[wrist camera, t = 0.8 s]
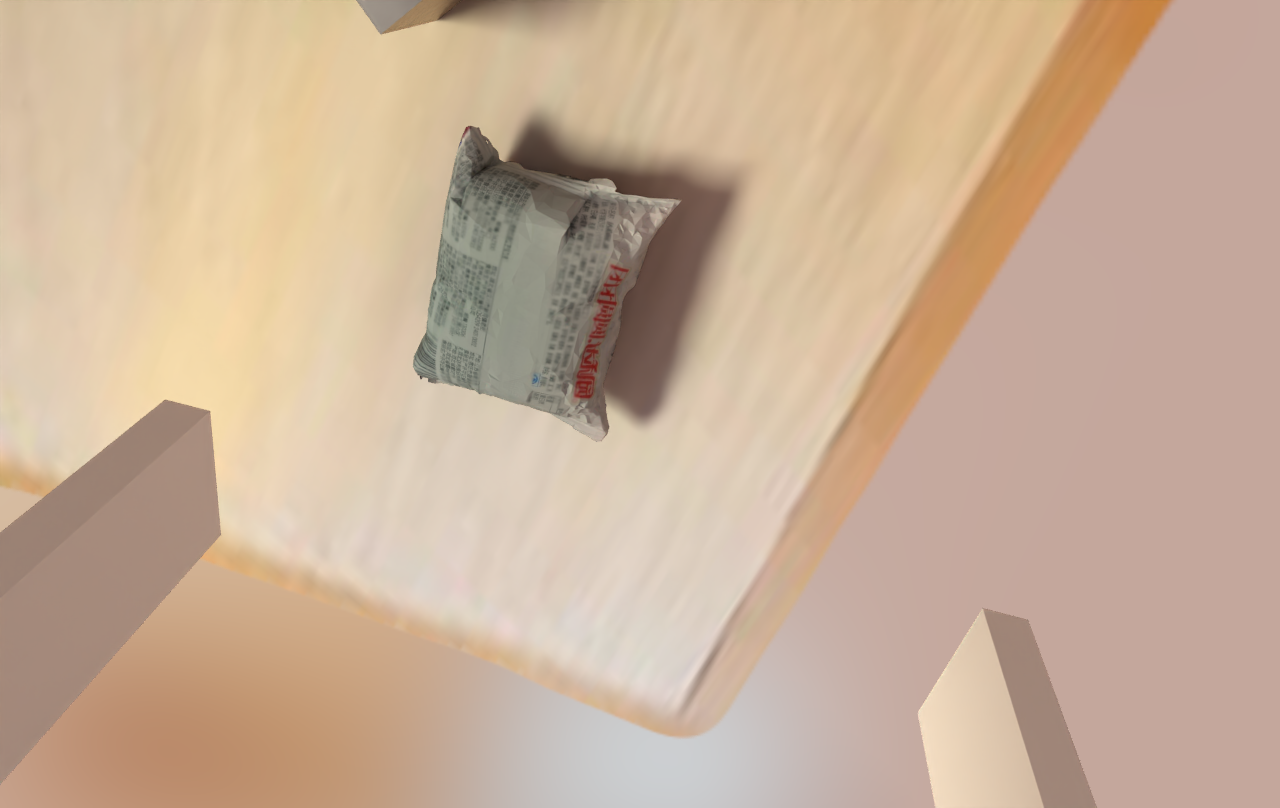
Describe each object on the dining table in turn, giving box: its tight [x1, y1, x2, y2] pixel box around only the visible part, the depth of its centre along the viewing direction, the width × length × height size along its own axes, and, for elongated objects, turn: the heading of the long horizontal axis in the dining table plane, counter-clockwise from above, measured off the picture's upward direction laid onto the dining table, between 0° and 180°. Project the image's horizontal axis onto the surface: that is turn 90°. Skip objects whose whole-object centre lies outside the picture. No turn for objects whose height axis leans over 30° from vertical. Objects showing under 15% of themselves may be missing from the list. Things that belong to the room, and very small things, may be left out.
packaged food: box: [413, 126, 682, 442], centre depth 33 cm, size 9×12×5 cm
